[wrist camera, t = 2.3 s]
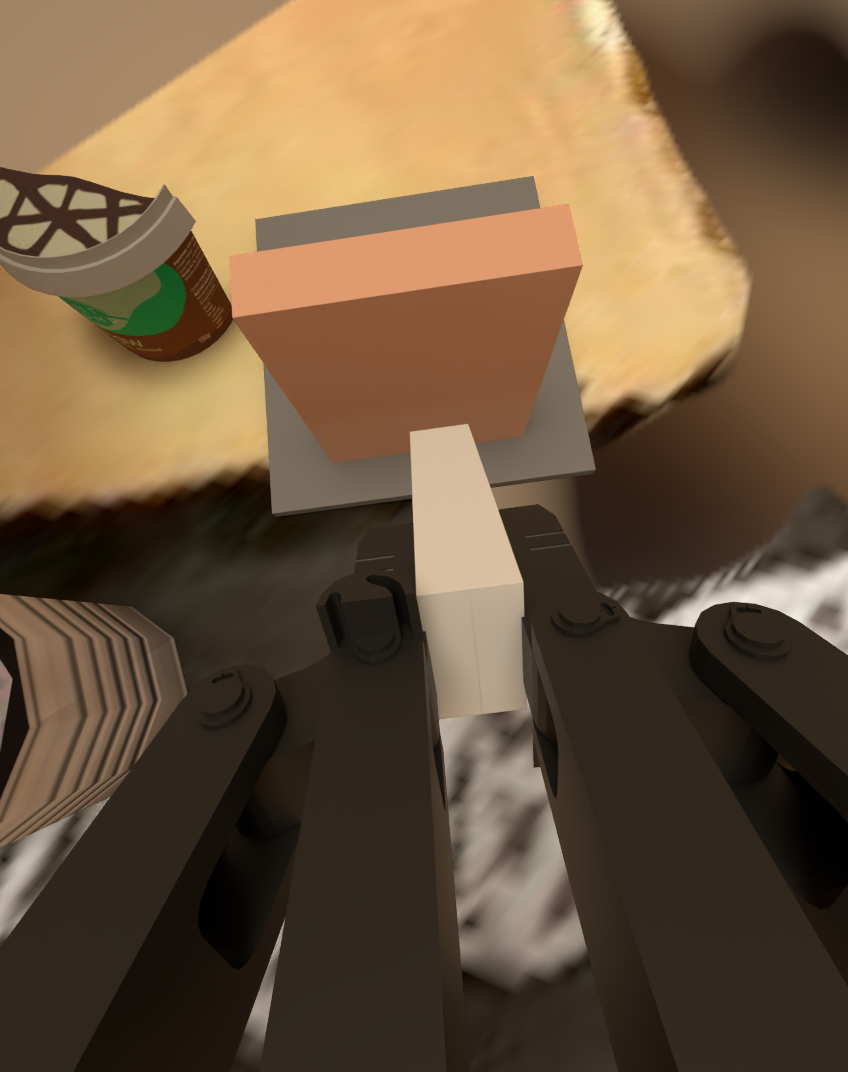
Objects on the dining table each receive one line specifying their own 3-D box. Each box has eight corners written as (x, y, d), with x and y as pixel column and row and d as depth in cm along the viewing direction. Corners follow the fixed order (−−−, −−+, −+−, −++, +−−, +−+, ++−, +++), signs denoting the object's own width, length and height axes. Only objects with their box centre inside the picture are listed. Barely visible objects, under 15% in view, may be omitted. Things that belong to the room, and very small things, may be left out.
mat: (276, 516, 30) (272, 513, 30) (259, 228, 35) (255, 219, 34) (591, 473, 30) (595, 469, 29) (531, 186, 34) (533, 176, 34)
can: (183, 798, 27) (-19, 920, 16) (-7, 804, 28) (-342, 926, 16) (194, 597, 30) (26, 571, 18) (18, 606, 30) (-256, 587, 18)
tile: (332, 463, 30) (232, 317, 16) (328, 420, 31) (229, 245, 17) (522, 436, 30) (582, 265, 16) (515, 393, 30) (566, 193, 17)
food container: (65, 355, 34) (-92, 241, 24) (100, 281, 35) (-37, 144, 25) (224, 395, 32) (125, 291, 23) (255, 317, 34) (174, 185, 24)
